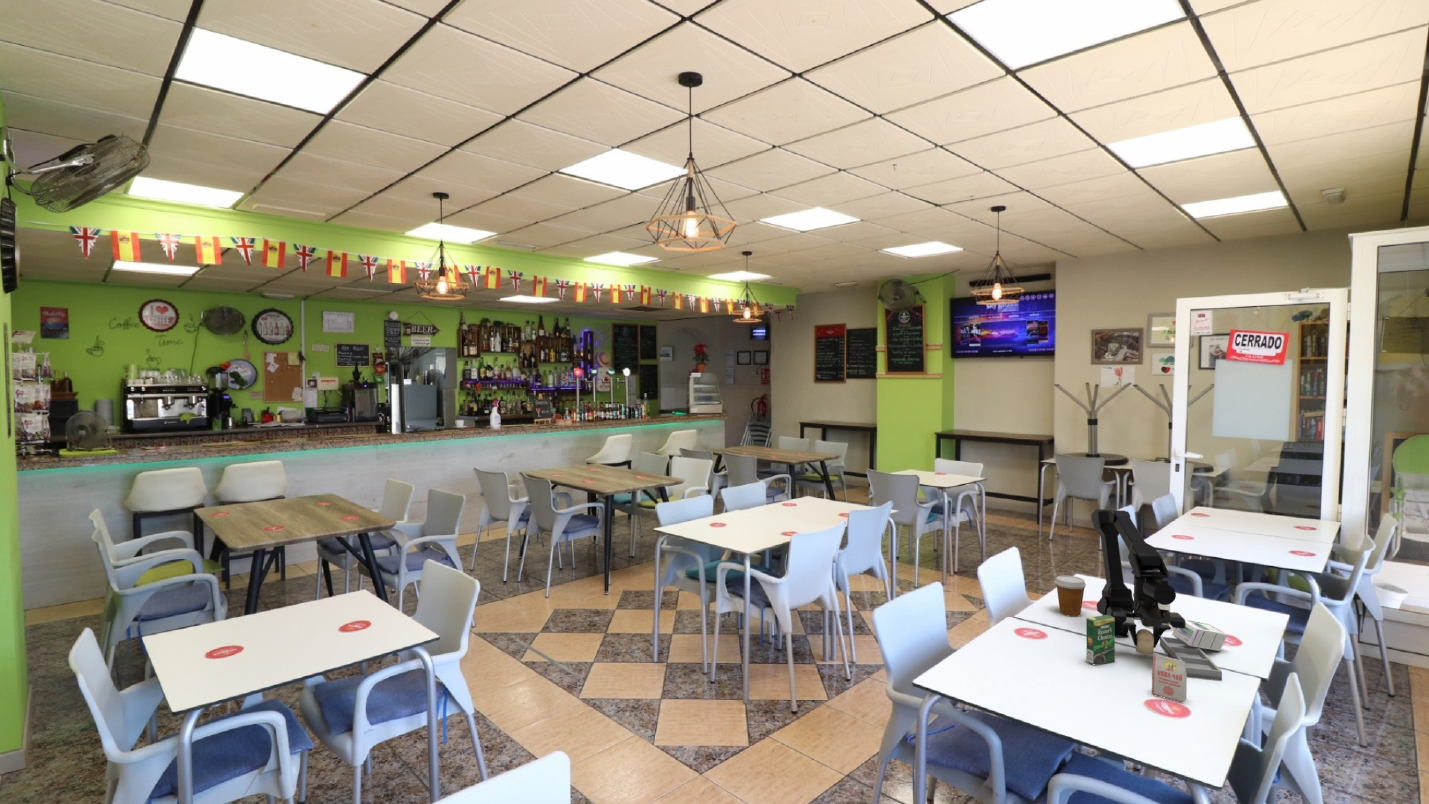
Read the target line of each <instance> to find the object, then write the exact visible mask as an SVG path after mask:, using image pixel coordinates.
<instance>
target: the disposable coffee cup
mask: <svg viewBox="0 0 1429 804" xmlns="http://www.w3.org/2000/svg"><path fill="white" fill-rule="evenodd" d="M1054 583H1055V585H1056V591H1057V600H1058V605H1059V613H1060V612H1061V613H1062V614H1061V613H1060V614H1061V615H1063V616H1067V615H1069V616H1068V617H1079V615H1080V616H1081V614H1082V606H1083V601H1084V592H1085V588H1086V586H1087V584H1086V581H1085V580H1084V579H1083V578H1081V577H1078V576H1073V575H1059V576H1056V577H1055V580H1054Z"/></svg>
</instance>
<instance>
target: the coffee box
mask: <svg viewBox="0 0 1429 804" xmlns="http://www.w3.org/2000/svg"><path fill="white" fill-rule="evenodd" d="M1085 625H1086V628H1085V629H1086V631H1085V632H1086V638H1085V639H1086V662H1087V661H1088V662H1089V663H1088V662H1087V663H1088V664H1090V663H1091V664H1090V665H1092V664H1100V665H1103V664H1108V663H1109V664H1110V662H1111V663H1114V662H1116V657H1115V656H1116V652H1115V651H1116V649H1115V648H1116V647H1115V646H1116V645H1115V642H1116V641H1115V639H1116V638H1115V637H1116V636H1115V618H1114V617H1112V616H1110V615H1102V614H1101V615H1098V616H1093V617H1092V616H1091V617H1087V618H1086V624H1085Z"/></svg>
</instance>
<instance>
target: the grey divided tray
mask: <svg viewBox="0 0 1429 804" xmlns="http://www.w3.org/2000/svg"><path fill="white" fill-rule="evenodd" d="M1159 645H1160V647H1161V648H1162V649H1163V651H1164V652H1166V654H1167V655H1168V657H1169V658H1173V659H1177V660H1181V661H1185V662H1186V673H1187V678H1194V679H1202V680H1203V679H1204V680H1205V679H1206V680H1211V679H1213V680H1212V681H1219V680H1221V681H1222V680H1223V678H1222V677H1223V671H1222V670H1221V669H1220V668H1219V667H1218V665H1216V664H1215V663H1214V661H1212V660H1211V659H1210V657H1209V656H1208V655H1207V654H1206V653H1205V652H1204V650H1202V648H1199V647H1194V646H1189V645H1187V644H1186V643H1184V642H1182V641H1181V640H1179V639H1178V638H1176V637H1170V636H1161V637H1160V639H1159Z"/></svg>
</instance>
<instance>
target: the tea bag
mask: <svg viewBox="0 0 1429 804" xmlns="http://www.w3.org/2000/svg"><path fill="white" fill-rule="evenodd" d="M1151 676H1152V677H1151V695H1152V694H1153V695H1152V696H1155V695H1156V697H1159V696H1162V697H1165V698H1164V699H1166V698H1168V699H1167V700H1170V699H1172V700H1171V701H1173V700H1175V701H1174V702H1177V701H1178V703H1181V702H1184V703H1185V701H1186V700H1187V684H1188V683H1187V682H1188V680H1187V679H1188V677H1187V673H1186V662H1185V661H1181V660H1177V659H1173V658H1170V657H1169V656H1163V655H1159V654H1155V653H1154V654H1153V661H1152V672H1151ZM1162 697H1161V698H1162ZM1185 699H1186V700H1185Z"/></svg>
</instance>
